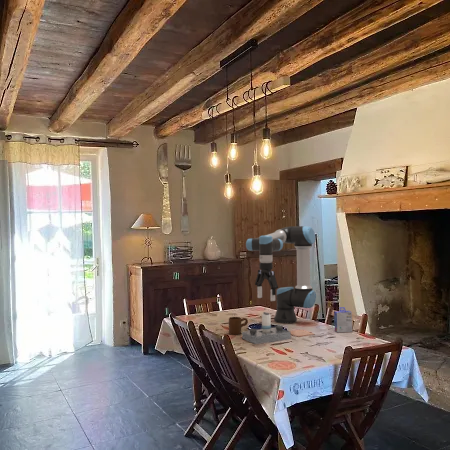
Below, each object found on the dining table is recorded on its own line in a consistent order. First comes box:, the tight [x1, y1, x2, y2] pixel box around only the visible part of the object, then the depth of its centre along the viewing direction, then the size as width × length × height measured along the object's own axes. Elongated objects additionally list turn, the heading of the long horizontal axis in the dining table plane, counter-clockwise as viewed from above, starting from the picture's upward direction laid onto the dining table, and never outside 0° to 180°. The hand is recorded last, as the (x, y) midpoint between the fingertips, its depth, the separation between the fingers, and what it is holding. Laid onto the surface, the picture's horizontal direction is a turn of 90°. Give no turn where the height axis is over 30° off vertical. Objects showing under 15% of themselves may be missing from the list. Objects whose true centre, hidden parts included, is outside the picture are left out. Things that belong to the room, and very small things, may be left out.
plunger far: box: [275, 325, 284, 331], centre depth 262 cm, size 4×4×5 cm
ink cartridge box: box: [333, 306, 353, 333], centre depth 275 cm, size 10×6×14 cm, turn 97°
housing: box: [241, 326, 292, 345], centre depth 258 cm, size 14×24×4 cm, turn 118°
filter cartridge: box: [261, 311, 272, 334], centre depth 258 cm, size 5×5×15 cm
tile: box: [290, 329, 315, 338], centre depth 270 cm, size 12×12×1 cm
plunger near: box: [248, 328, 258, 335], centre depth 254 cm, size 4×4×5 cm
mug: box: [228, 316, 249, 336], centre depth 273 cm, size 12×8×9 cm, turn 104°
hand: (266, 299), depth 258 cm, fingers open, 13 cm apart
